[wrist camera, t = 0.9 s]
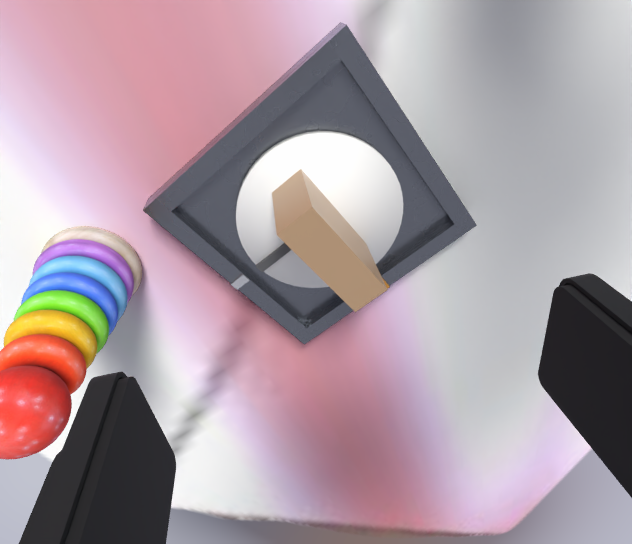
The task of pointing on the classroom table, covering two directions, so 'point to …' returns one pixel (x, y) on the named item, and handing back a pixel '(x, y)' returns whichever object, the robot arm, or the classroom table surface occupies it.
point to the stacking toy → (61, 332)
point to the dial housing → (289, 120)
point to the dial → (321, 214)
